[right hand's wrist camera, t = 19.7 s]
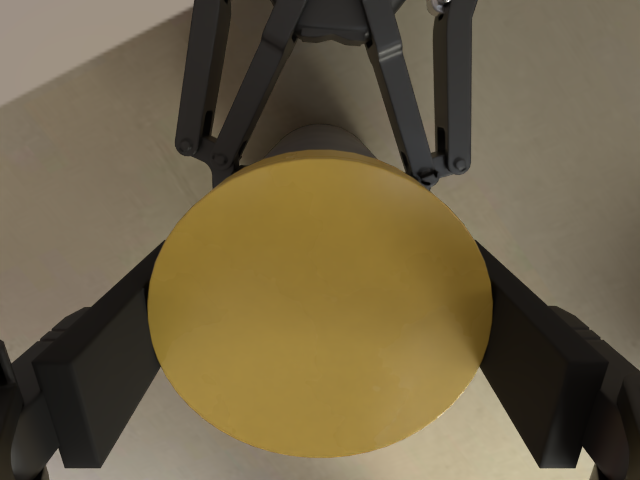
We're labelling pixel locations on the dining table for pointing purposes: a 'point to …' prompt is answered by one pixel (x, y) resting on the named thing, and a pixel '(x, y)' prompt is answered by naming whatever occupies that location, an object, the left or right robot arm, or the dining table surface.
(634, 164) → the dining table surface
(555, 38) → the dining table surface
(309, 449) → the lid
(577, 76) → the dining table surface
